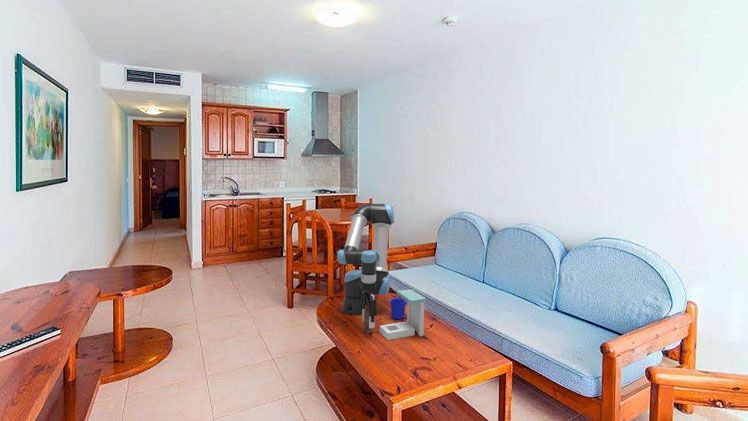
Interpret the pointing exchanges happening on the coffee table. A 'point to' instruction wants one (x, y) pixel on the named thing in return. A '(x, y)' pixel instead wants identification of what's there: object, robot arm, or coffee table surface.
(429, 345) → the coffee table surface
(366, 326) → the peg
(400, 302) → the mug
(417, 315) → the station
